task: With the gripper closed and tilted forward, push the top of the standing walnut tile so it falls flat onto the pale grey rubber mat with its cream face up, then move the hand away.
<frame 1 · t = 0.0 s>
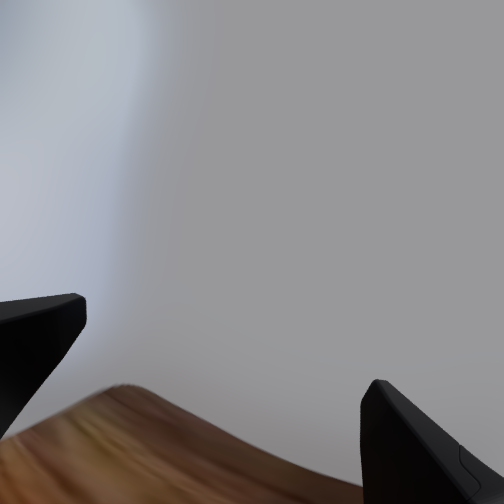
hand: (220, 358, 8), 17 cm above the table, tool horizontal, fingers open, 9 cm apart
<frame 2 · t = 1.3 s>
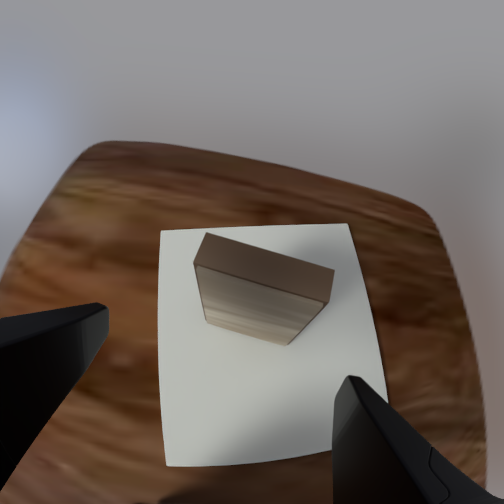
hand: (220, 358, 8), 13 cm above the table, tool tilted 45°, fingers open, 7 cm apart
mat: (271, 336, 21), on the table
tile: (249, 322, 21), point 1 cm above the table, touching mat
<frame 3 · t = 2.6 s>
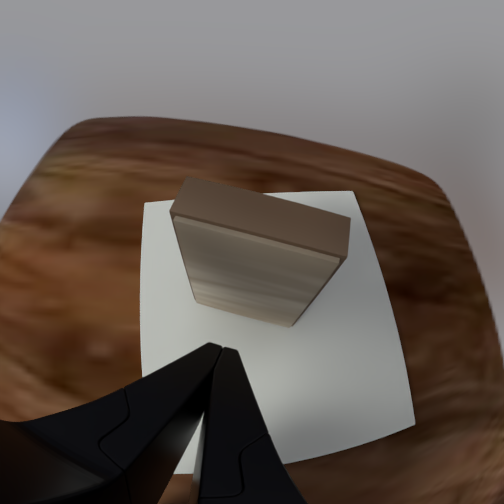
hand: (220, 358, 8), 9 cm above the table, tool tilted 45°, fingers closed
mat: (272, 317, 18), on the table
tile: (246, 301, 18), point 1 cm above the table, touching mat
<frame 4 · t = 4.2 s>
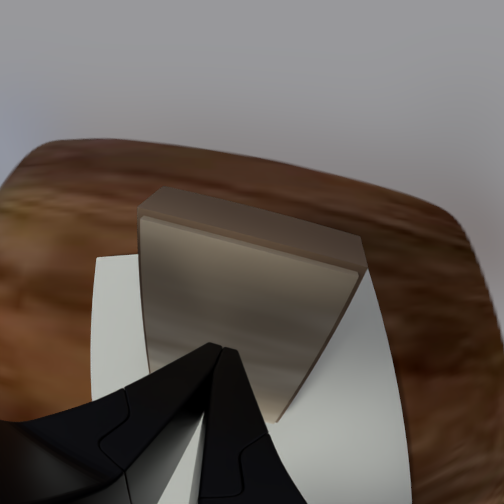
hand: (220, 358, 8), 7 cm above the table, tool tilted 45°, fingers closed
mat: (250, 411, 13), on the table
tile: (217, 393, 13), point 1 cm above the table, tilted 27°, touching mat
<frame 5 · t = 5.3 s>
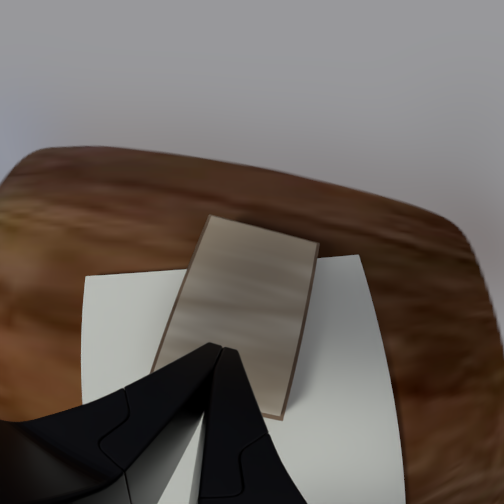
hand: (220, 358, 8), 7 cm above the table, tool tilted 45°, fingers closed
mat: (243, 436, 12), on the table
tile: (214, 404, 12), point 1 cm above the table, tilted 90°, touching mat
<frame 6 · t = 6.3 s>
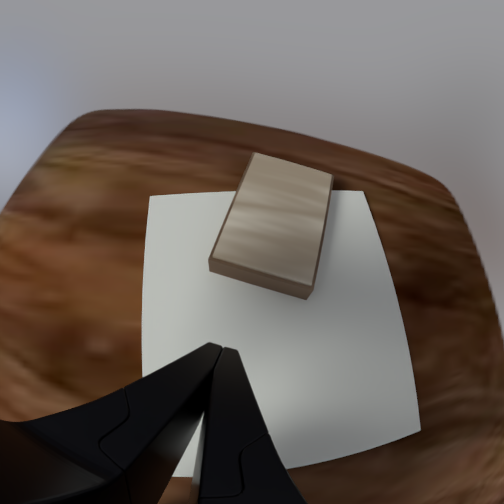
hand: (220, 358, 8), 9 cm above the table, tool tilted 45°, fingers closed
mat: (279, 317, 17), on the table
tile: (259, 280, 17), point 1 cm above the table, tilted 90°, touching mat
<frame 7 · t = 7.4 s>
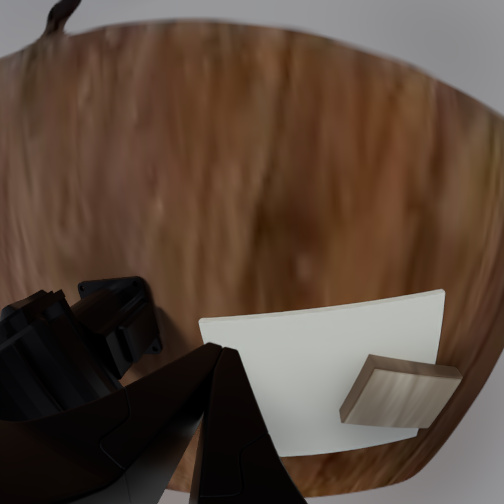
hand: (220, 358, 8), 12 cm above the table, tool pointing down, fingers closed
mat: (329, 392, 22), on the table
tile: (355, 390, 20), point 1 cm above the table, tilted 90°, touching mat
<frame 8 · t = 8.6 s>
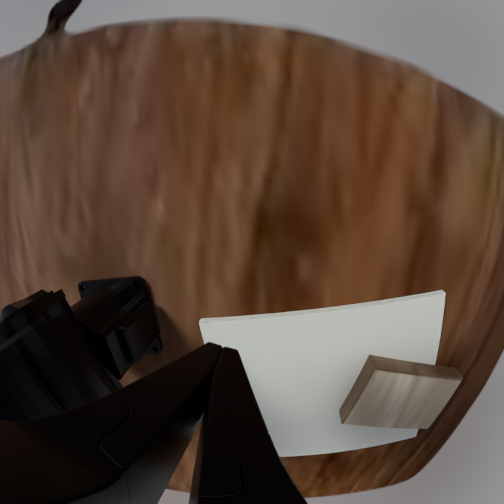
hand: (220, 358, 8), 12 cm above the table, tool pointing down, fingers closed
mat: (329, 393, 22), on the table
tile: (355, 391, 20), point 1 cm above the table, tilted 90°, touching mat
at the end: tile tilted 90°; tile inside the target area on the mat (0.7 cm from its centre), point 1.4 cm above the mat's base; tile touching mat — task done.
